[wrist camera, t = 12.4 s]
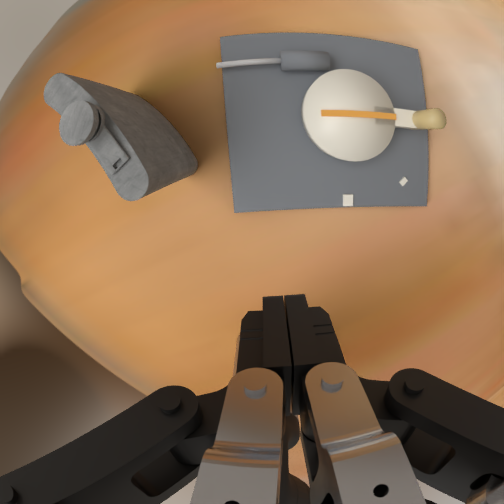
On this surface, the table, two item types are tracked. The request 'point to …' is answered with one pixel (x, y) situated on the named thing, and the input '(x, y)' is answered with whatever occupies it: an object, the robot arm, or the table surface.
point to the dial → (357, 116)
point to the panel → (296, 139)
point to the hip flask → (120, 135)
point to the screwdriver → (289, 61)
